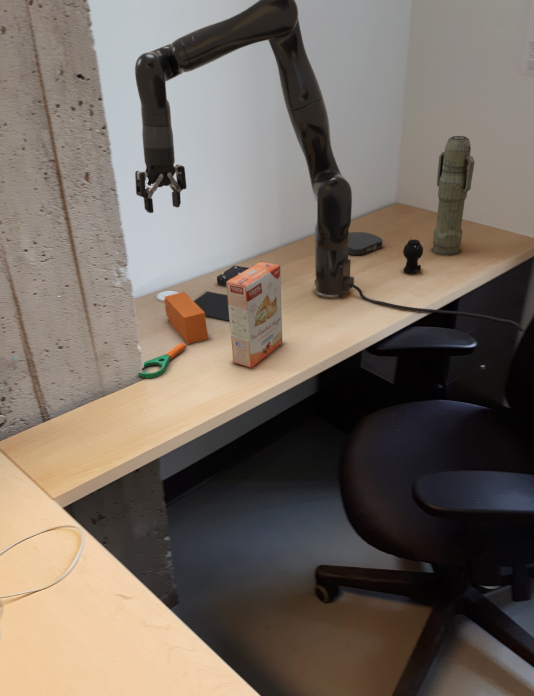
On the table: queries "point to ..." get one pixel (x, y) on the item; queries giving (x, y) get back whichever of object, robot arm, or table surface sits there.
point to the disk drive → (230, 274)
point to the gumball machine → (412, 256)
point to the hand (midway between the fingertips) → (163, 209)
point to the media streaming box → (363, 243)
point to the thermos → (452, 194)
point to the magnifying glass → (162, 361)
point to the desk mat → (214, 305)
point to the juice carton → (186, 317)
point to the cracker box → (255, 313)
